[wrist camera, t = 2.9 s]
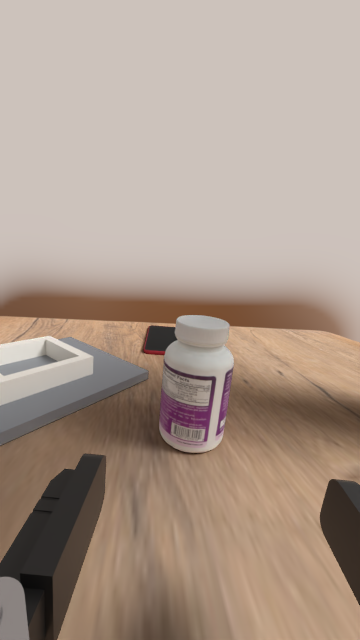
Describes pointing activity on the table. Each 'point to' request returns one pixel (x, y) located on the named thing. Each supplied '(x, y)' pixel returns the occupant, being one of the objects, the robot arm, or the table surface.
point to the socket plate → (55, 381)
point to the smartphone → (159, 339)
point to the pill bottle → (196, 384)
